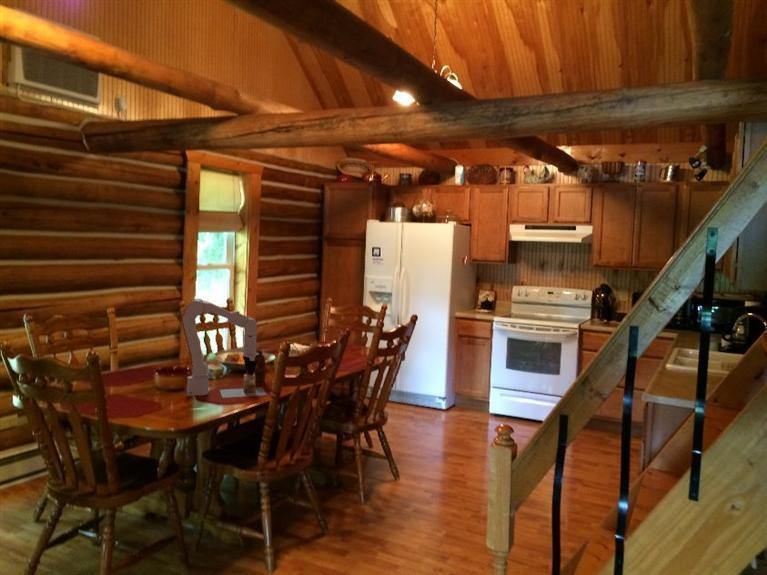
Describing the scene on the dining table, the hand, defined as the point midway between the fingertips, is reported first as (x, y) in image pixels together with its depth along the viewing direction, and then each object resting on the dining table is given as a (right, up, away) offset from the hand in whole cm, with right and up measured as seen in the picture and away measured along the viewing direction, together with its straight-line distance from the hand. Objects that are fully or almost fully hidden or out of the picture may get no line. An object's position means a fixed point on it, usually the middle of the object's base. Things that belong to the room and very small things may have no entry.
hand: (249, 373), depth 290 cm
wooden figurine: (-2, -8, +19) cm, 21 cm away
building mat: (-3, -10, 0) cm, 10 cm away
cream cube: (0, -5, 0) cm, 5 cm away
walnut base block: (0, -9, +1) cm, 9 cm away
